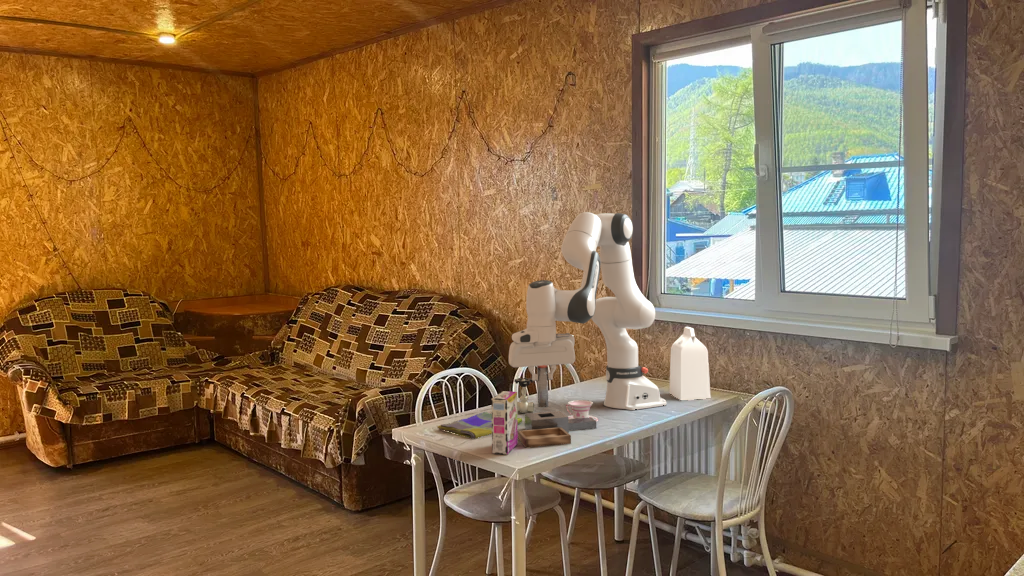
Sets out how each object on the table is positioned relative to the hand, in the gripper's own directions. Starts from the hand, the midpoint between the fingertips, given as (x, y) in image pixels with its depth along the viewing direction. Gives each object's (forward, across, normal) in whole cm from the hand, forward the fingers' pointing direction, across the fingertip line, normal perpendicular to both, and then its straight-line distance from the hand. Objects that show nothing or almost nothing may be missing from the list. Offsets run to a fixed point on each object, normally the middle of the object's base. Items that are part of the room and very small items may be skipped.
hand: (542, 379), depth 234 cm
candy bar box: (+19, +13, +4) cm, 24 cm away
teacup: (+19, -18, -20) cm, 33 cm away
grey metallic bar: (+8, 0, 0) cm, 8 cm away
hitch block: (+19, -9, -12) cm, 24 cm away
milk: (+19, -68, -41) cm, 81 cm away
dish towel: (+20, +15, -23) cm, 34 cm away
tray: (+19, 0, 0) cm, 19 cm away
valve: (+19, -3, -37) cm, 41 cm away
